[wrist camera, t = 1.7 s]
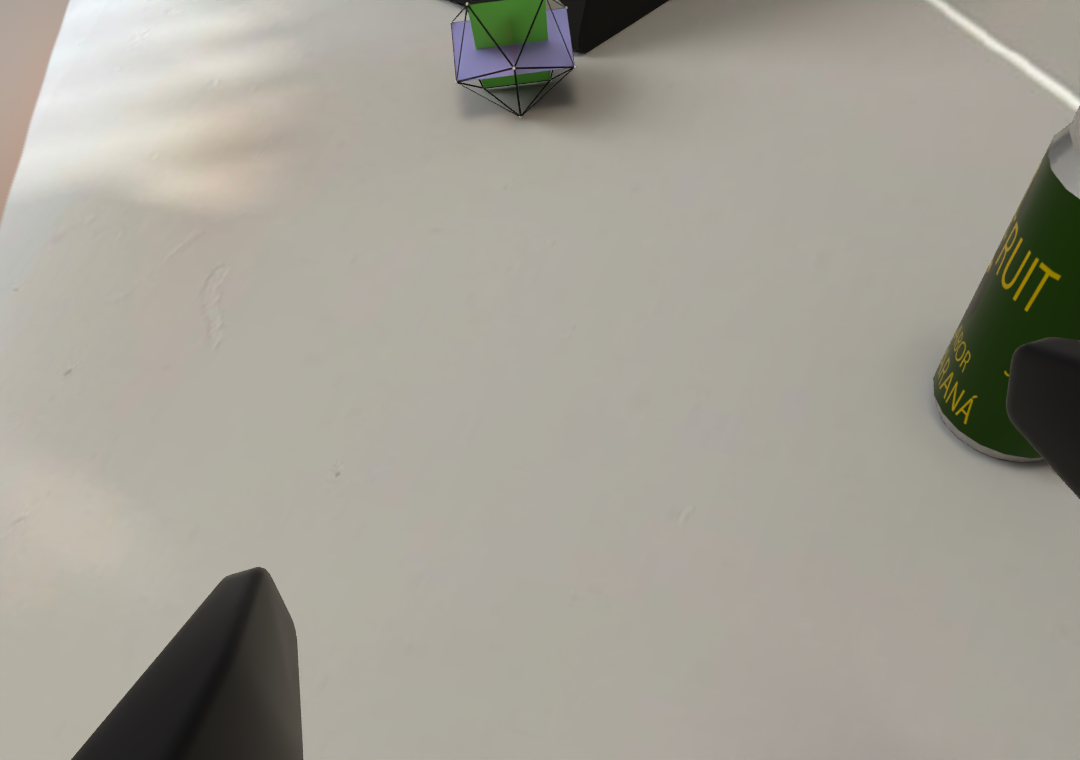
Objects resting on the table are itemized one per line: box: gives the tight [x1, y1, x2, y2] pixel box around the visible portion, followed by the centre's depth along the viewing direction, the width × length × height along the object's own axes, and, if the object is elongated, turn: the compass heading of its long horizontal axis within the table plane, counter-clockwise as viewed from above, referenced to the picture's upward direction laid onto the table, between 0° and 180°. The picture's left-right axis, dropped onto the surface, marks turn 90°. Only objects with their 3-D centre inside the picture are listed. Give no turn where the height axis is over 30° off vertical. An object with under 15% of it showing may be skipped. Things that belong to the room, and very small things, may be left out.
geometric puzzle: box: [450, 0, 576, 118], centre depth 43 cm, size 7×7×8 cm
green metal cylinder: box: [933, 106, 1080, 462], centre depth 24 cm, size 5×5×12 cm
